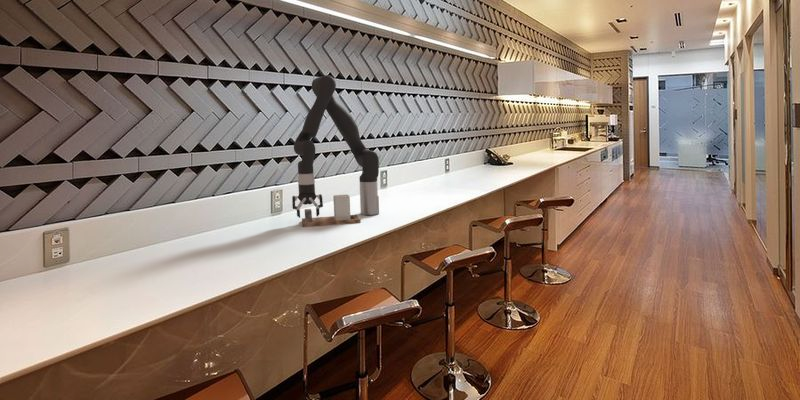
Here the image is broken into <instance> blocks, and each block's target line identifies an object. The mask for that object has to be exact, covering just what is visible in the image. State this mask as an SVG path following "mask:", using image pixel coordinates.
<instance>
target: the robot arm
mask: <svg viewBox="0 0 800 400" xmlns="http://www.w3.org/2000/svg"><path fill="white" fill-rule="evenodd" d="M336 88H337V83H336V80H335V78H334V77H333V76H331V75H329V74H328V75H327V74H326V75H325V74H324V75H322V76H319V77H316V78H314V79H313V80H312V82H311V91H312V92H313V94H314V96H315V97H316V99H315V101H314V102H313V104H312V107H311V108H310V109H309V111H308V113H307V115H306V117H305V120H304V123H303V126H302V128H301V131H300V133H299V134H298V135H297V137H296V139H295V141H294V144H293V151H294V153H295V154H296V155H299V156H302V157H301V160H300V161H298V162H297V172H298V173H297V174H298V175H297V184H298V187H297V188H298V195H292V197H291V199H292V201H291V202H292V206H291V207H292V209H293V210H296V216H297V218H299V219H300V218H301V207H302V206H303V205H304V206H306V205H312V204H313V206H314V207H315V211H316V212H315V214H316V216H315V217H319V216H320V209H321V208H323V207H324V204H323V195H322V194H321V193H320V194H316V186H315V182H316V181H315V174H314V162H315V157H316V146H315V143H314V142H313V141H312V139H313V138H316V137H317V134H318V132H319V129H320V126H321V122H322V120H323V116H324V114H325V112H327V114H328V115H329V117H330V118H331V120H332V121H333V123H334V125H335V127H336V128H337V130H338V131H339V133H340V134H341V136H342V138H343V139H344V141H345V143H346V144H347V146H348V147H349V149H350V151H351V153H352V155H353V157H354V159H355V161H356V162H357V163H356V164H357V165H358V166H360V167H361V169H362V173H361V174H360V175H359V198H360V199H359V204H360V205H359V206H360V215H363V216H375V215H380V204H379V203H380V201H379V193H378V176H379V170H380V163H379V162H380V160H379V155H378V153H377V152H376V151H374V150H370V149H367V146H365V143H363V141H362V140H361V136H360V131H359V127H358V125H357V122H356V121H355V119H354V118H353V116H352V114H351V113H349V111H348V110H347V109H346V108H345V107H344V106H342V105H341V104H340V103H339V102H338V100H337V99H336V98H335V97H334V93H335V90H336ZM316 199H317V200H319V204H318V203H317V202H316V201H315V200H316ZM298 200H299V202H298V205H297V206H296V202H297V201H298Z"/></svg>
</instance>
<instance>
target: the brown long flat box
mask: <svg viewBox="0 0 800 400" xmlns="http://www.w3.org/2000/svg"><path fill="white" fill-rule="evenodd" d="M312 214H313V213H312V208H306V209H304V218H303V217H302V218H301V223H302V224H301V225H302V228H304V227H305V228H308V227H317V226H318V227H320V226H332V225H346V224H347V225H348V224H360V223H361V222H362V221H361V218H360V217H359V216H358V214H350V217H351V220H338V221H336V220H335V218H334V215H333V216H330V215H329V216H315V217H313V215H312Z"/></svg>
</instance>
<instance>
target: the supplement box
mask: <svg viewBox="0 0 800 400" xmlns="http://www.w3.org/2000/svg"><path fill="white" fill-rule="evenodd" d="M332 200H333V216H334V218H335V220H336V221H338V220H352V219H351V217H350V215H351V197H350V195H348V194H334V195H333V199H332Z"/></svg>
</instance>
